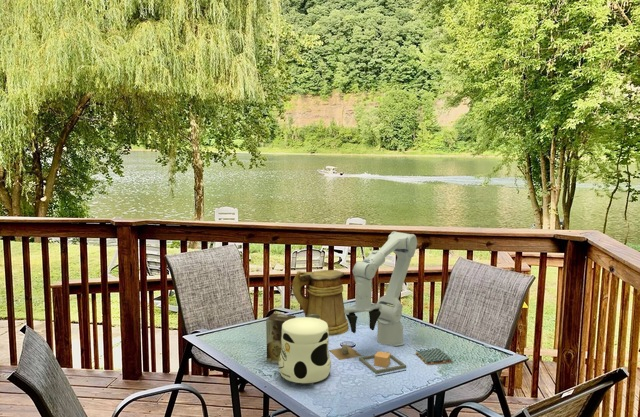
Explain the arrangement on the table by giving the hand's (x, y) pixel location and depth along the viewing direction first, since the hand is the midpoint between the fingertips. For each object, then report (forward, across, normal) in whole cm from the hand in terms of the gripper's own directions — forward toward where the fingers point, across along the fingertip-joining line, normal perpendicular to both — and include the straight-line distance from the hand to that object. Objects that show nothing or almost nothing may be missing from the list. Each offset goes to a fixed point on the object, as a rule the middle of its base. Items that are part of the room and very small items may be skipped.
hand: (362, 330), depth 187 cm
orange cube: (+9, +2, -11) cm, 14 cm away
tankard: (+10, -4, +29) cm, 31 cm away
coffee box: (+10, -29, +7) cm, 31 cm away
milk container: (+10, -26, -8) cm, 29 cm away
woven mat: (+10, +23, -12) cm, 28 cm away
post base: (+9, -6, +2) cm, 11 cm away
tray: (+9, +2, -11) cm, 15 cm away
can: (+10, -14, +14) cm, 22 cm away
